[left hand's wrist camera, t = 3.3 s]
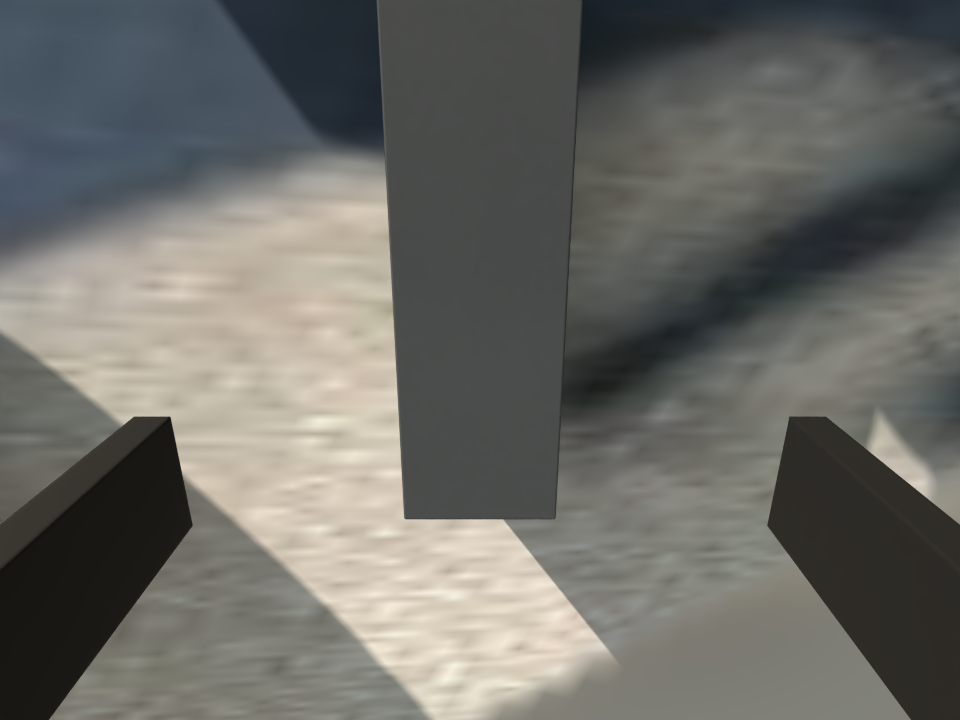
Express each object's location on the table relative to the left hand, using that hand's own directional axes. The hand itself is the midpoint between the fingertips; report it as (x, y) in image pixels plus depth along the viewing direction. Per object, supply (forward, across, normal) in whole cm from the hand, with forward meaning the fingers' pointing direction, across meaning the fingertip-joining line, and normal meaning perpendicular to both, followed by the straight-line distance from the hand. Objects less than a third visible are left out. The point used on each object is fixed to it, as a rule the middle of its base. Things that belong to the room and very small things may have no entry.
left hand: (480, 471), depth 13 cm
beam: (+15, 0, -19) cm, 24 cm away
